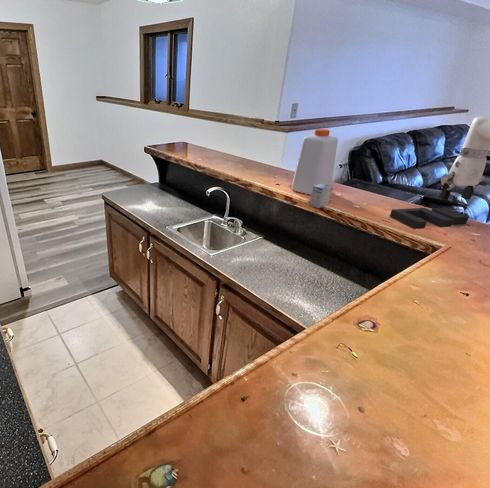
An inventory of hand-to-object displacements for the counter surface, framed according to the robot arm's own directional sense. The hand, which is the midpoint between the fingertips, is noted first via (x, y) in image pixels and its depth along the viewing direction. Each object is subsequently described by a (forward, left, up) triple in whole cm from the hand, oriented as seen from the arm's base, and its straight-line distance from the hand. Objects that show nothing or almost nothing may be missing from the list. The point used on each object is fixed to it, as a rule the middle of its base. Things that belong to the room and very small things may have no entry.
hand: (454, 198), depth 132 cm
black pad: (0, 0, -8) cm, 8 cm away
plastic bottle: (+34, -41, -8) cm, 54 cm away
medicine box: (+41, -22, -9) cm, 47 cm away
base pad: (+13, +1, -8) cm, 15 cm away
